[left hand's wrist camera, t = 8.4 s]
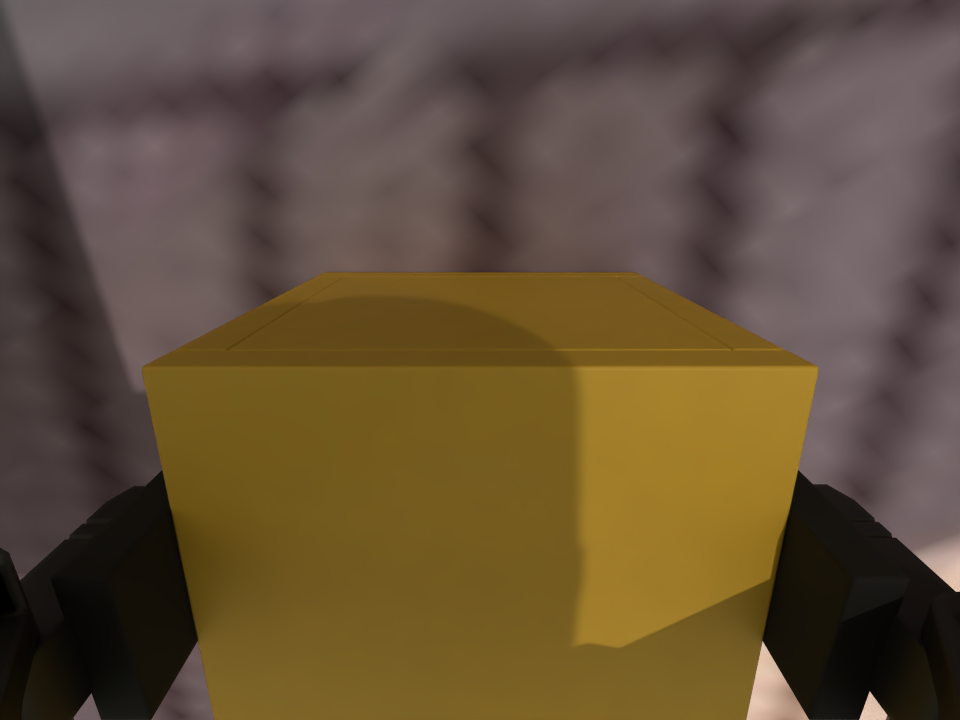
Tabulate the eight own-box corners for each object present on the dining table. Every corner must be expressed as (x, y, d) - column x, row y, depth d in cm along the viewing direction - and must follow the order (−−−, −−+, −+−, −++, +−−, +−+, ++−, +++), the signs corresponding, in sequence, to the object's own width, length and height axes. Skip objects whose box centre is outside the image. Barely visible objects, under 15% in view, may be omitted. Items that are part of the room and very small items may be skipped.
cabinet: (599, 688, 22) (682, 1034, 13) (361, 689, 22) (278, 1034, 13) (637, 272, 17) (821, 366, 8) (323, 272, 17) (139, 366, 8)
